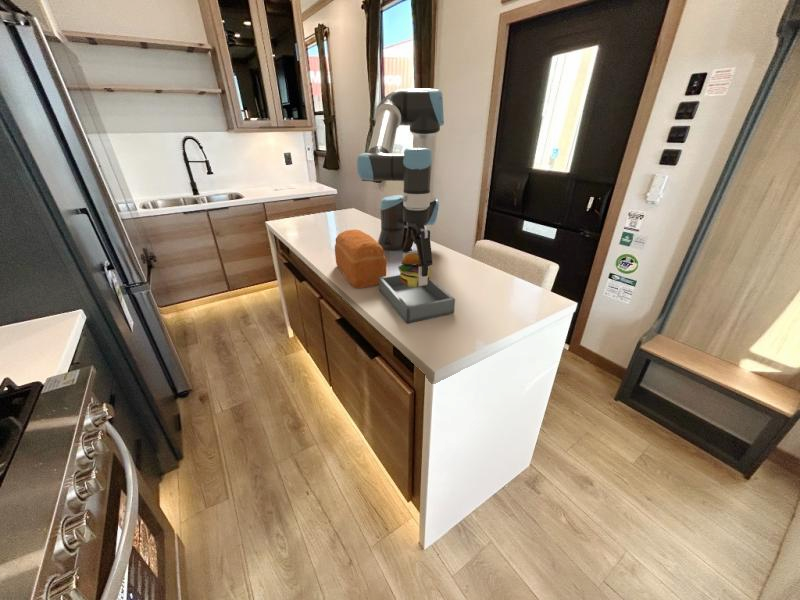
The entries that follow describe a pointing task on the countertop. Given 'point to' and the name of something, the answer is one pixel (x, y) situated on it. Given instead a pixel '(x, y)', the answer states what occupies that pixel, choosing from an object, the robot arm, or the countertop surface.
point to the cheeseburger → (411, 270)
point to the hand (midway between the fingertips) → (414, 277)
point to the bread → (360, 258)
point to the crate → (416, 299)
